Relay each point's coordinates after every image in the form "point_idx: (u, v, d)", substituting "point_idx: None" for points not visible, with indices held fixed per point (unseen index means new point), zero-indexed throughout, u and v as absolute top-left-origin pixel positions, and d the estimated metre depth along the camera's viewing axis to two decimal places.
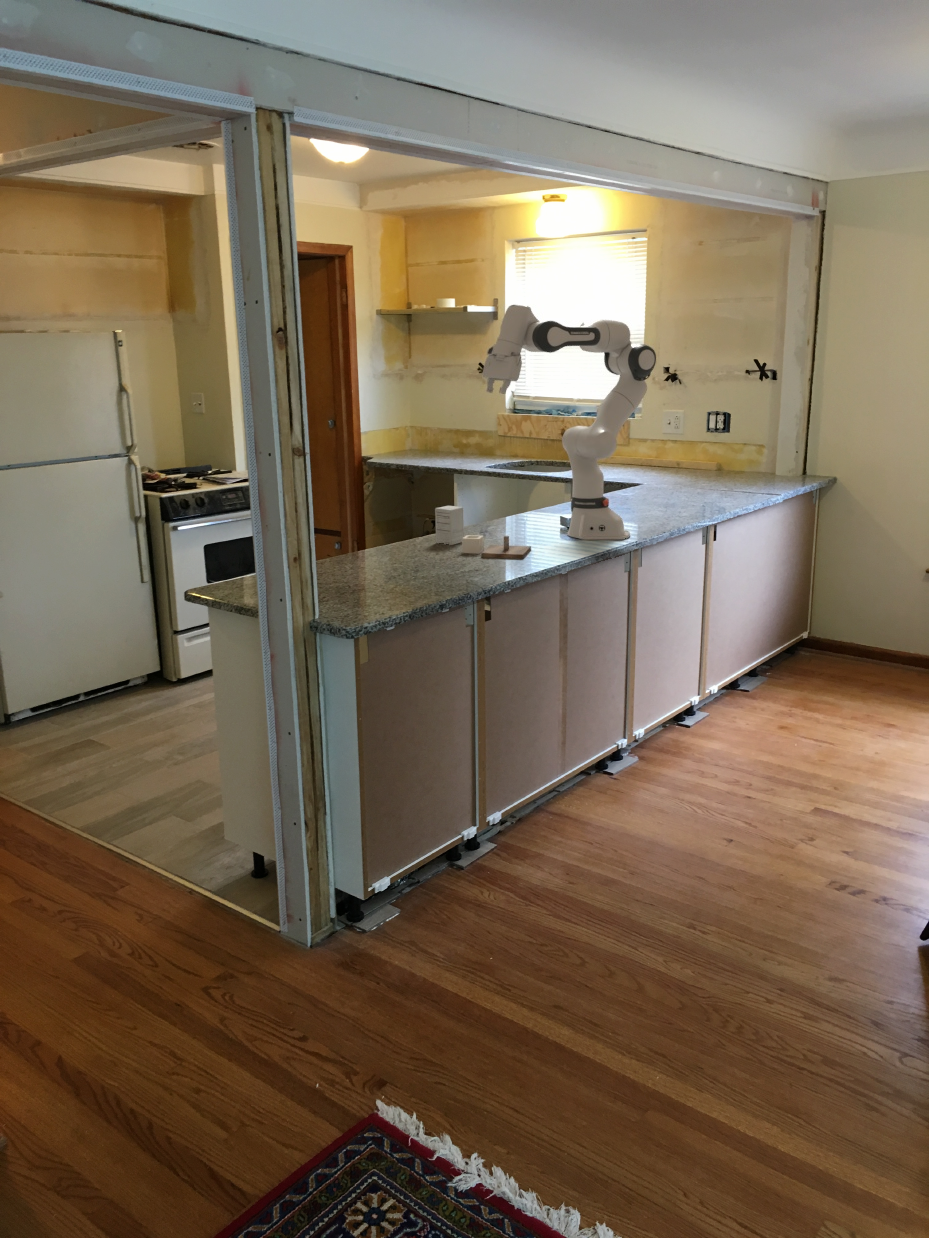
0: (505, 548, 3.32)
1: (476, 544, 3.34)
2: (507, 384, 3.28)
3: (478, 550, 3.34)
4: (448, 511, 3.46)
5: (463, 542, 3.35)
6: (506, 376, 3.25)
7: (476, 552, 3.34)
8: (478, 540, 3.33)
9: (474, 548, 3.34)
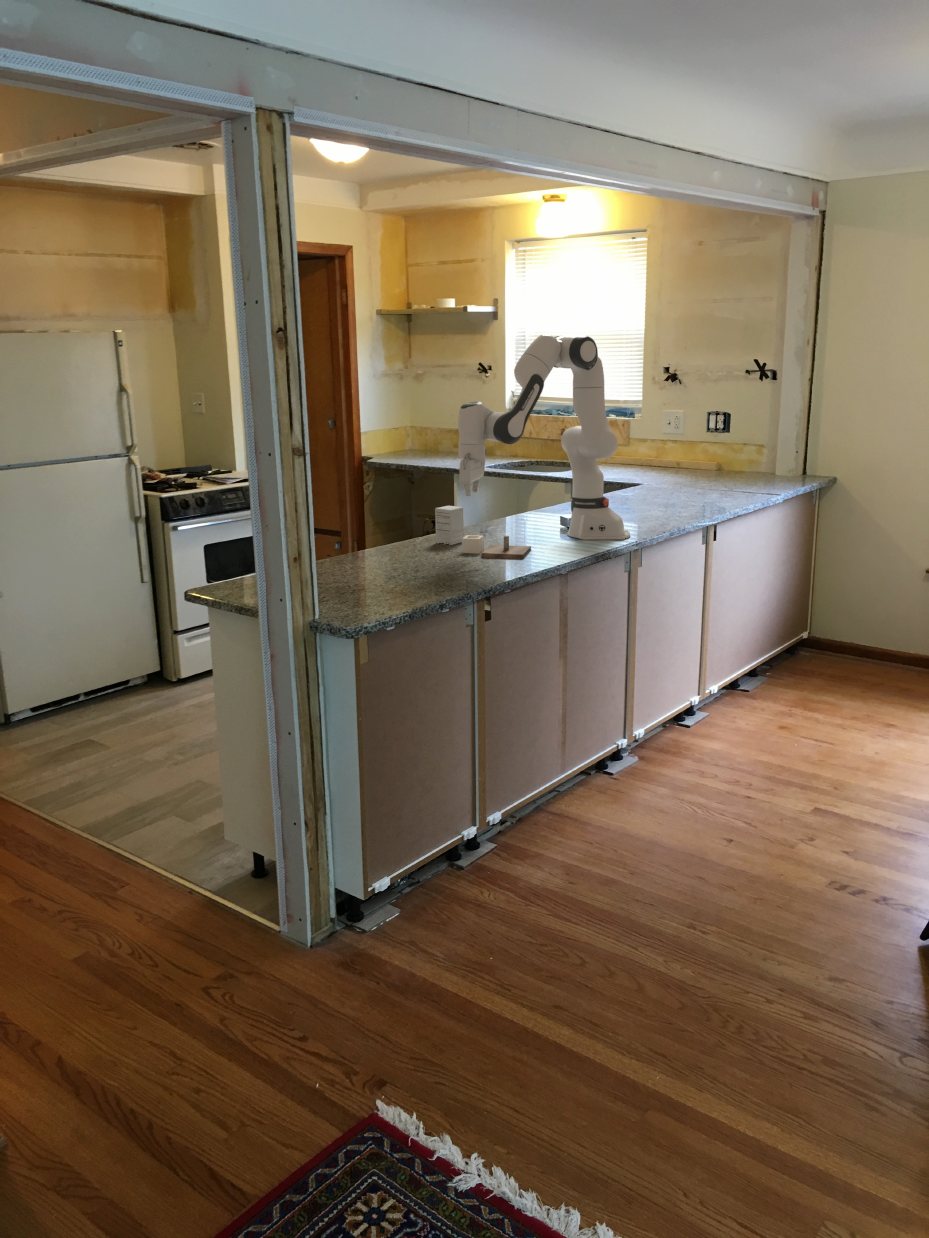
0: (505, 548, 3.32)
1: (476, 544, 3.34)
2: (467, 486, 3.26)
3: (478, 550, 3.34)
4: (448, 511, 3.46)
5: (463, 542, 3.35)
6: None
7: (476, 552, 3.34)
8: (478, 540, 3.33)
9: (474, 548, 3.34)
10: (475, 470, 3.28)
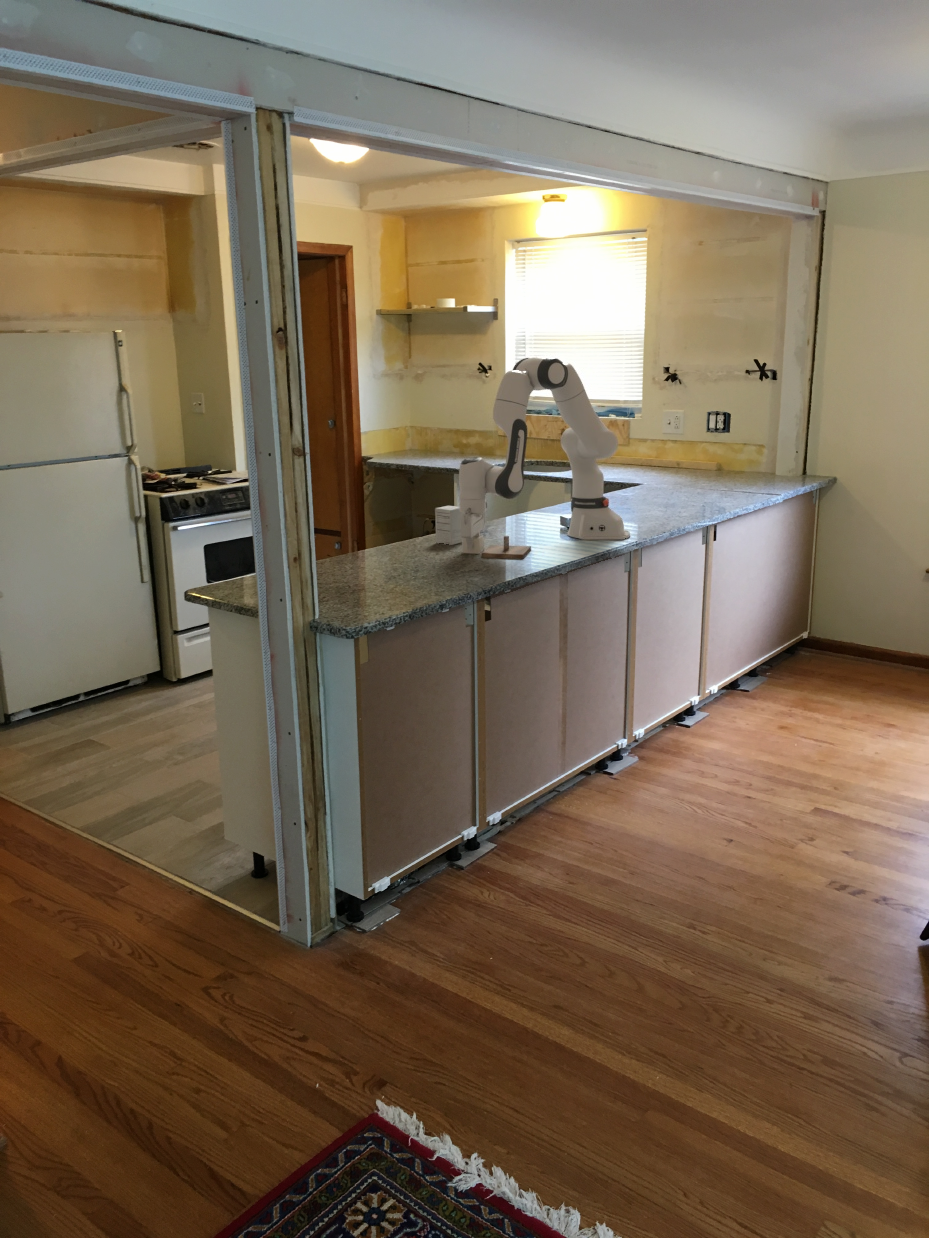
0: (505, 548, 3.32)
1: (476, 544, 3.34)
2: (469, 540, 3.32)
3: (478, 550, 3.34)
4: (448, 511, 3.46)
5: (463, 542, 3.35)
6: None
7: (476, 552, 3.34)
8: (478, 540, 3.33)
9: (474, 548, 3.34)
10: (476, 524, 3.33)
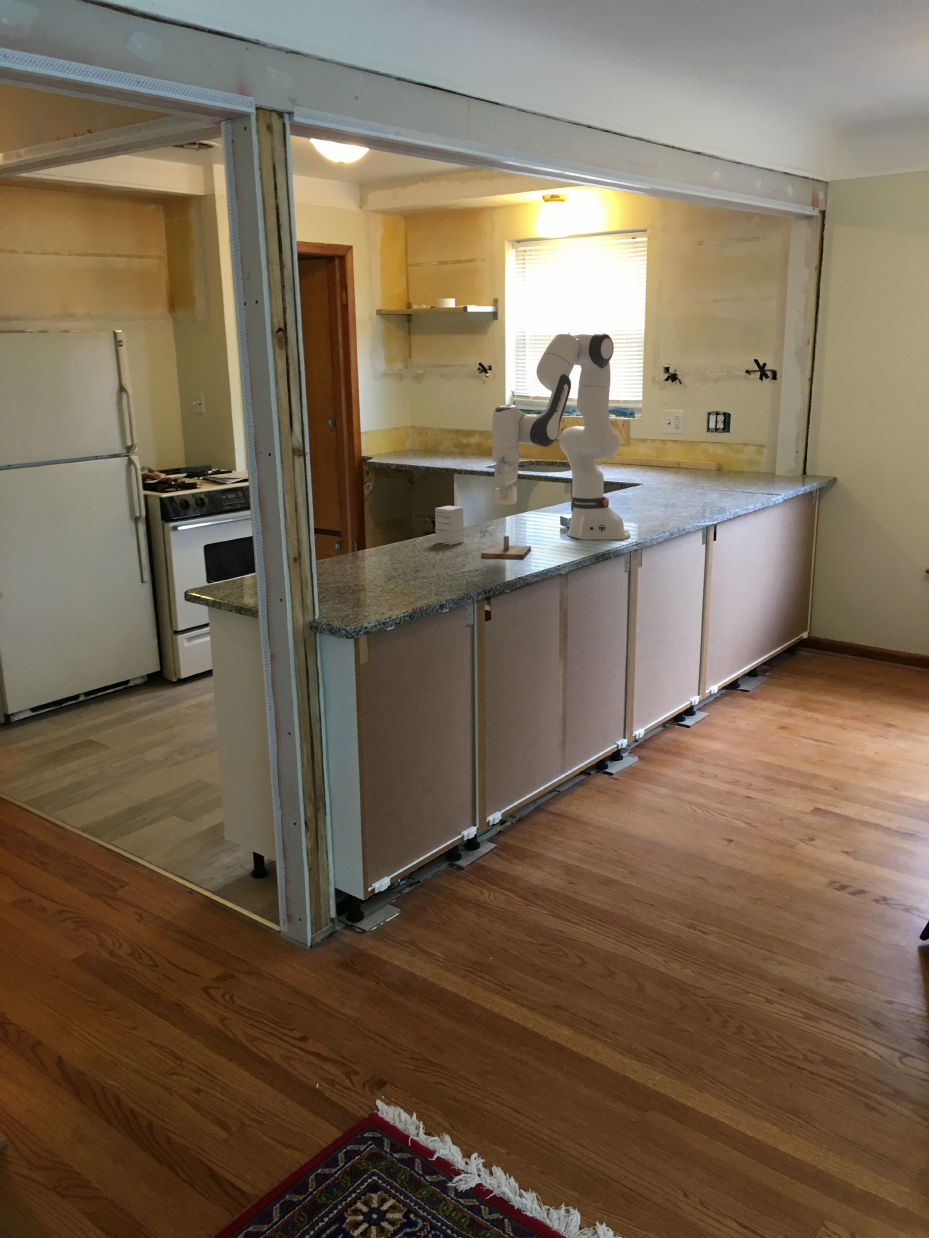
0: (505, 548, 3.32)
1: (509, 495, 3.24)
2: (503, 490, 3.22)
3: (511, 501, 3.25)
4: (448, 511, 3.46)
5: (496, 493, 3.25)
6: None
7: (509, 503, 3.25)
8: (512, 490, 3.24)
9: (507, 499, 3.25)
10: (509, 474, 3.23)
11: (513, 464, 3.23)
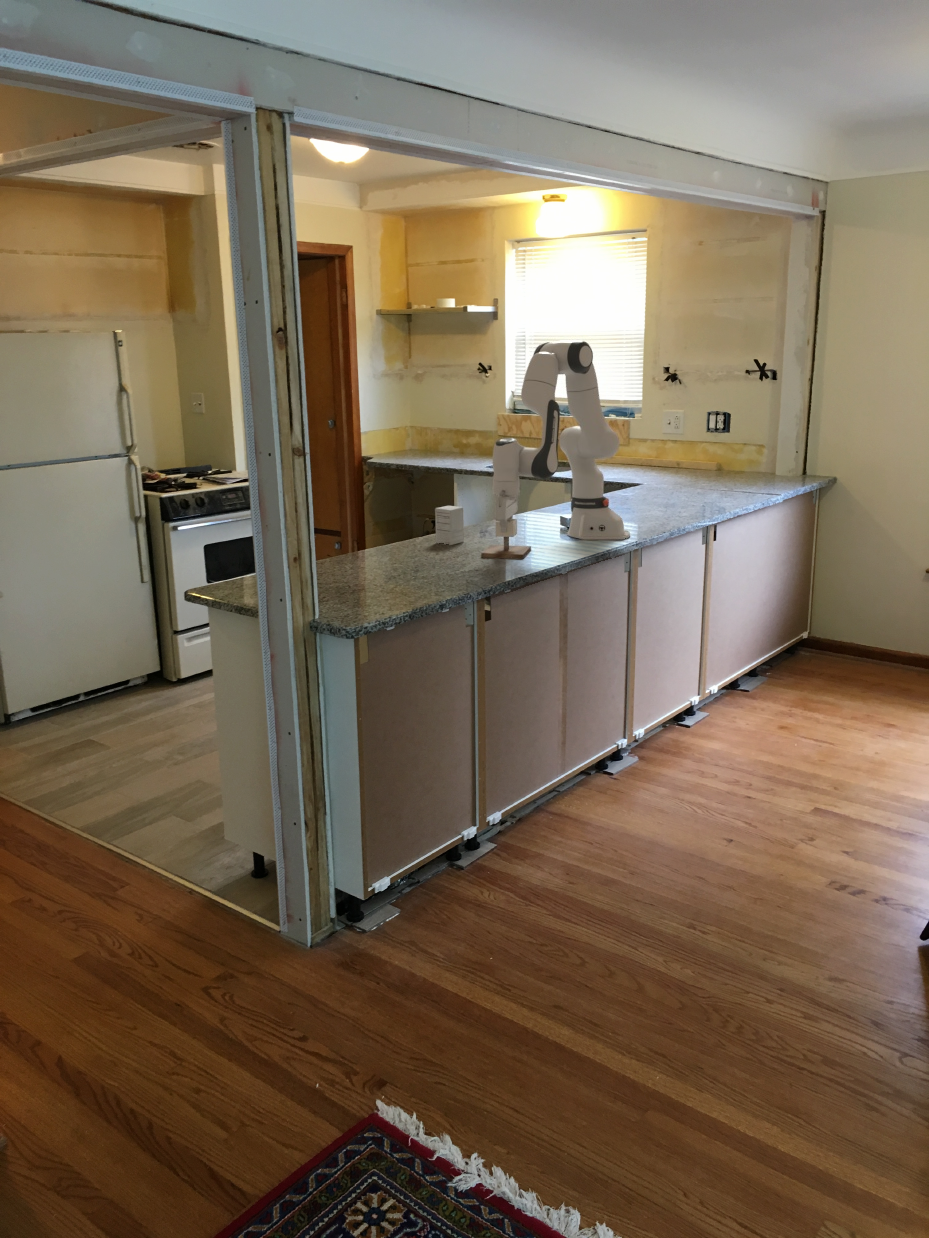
0: (505, 548, 3.32)
1: (510, 527, 3.27)
2: (503, 523, 3.25)
3: (512, 533, 3.28)
4: (448, 511, 3.46)
5: (496, 525, 3.28)
6: None
7: (510, 535, 3.28)
8: (512, 523, 3.27)
9: (508, 531, 3.28)
10: (510, 507, 3.26)
11: (513, 497, 3.26)
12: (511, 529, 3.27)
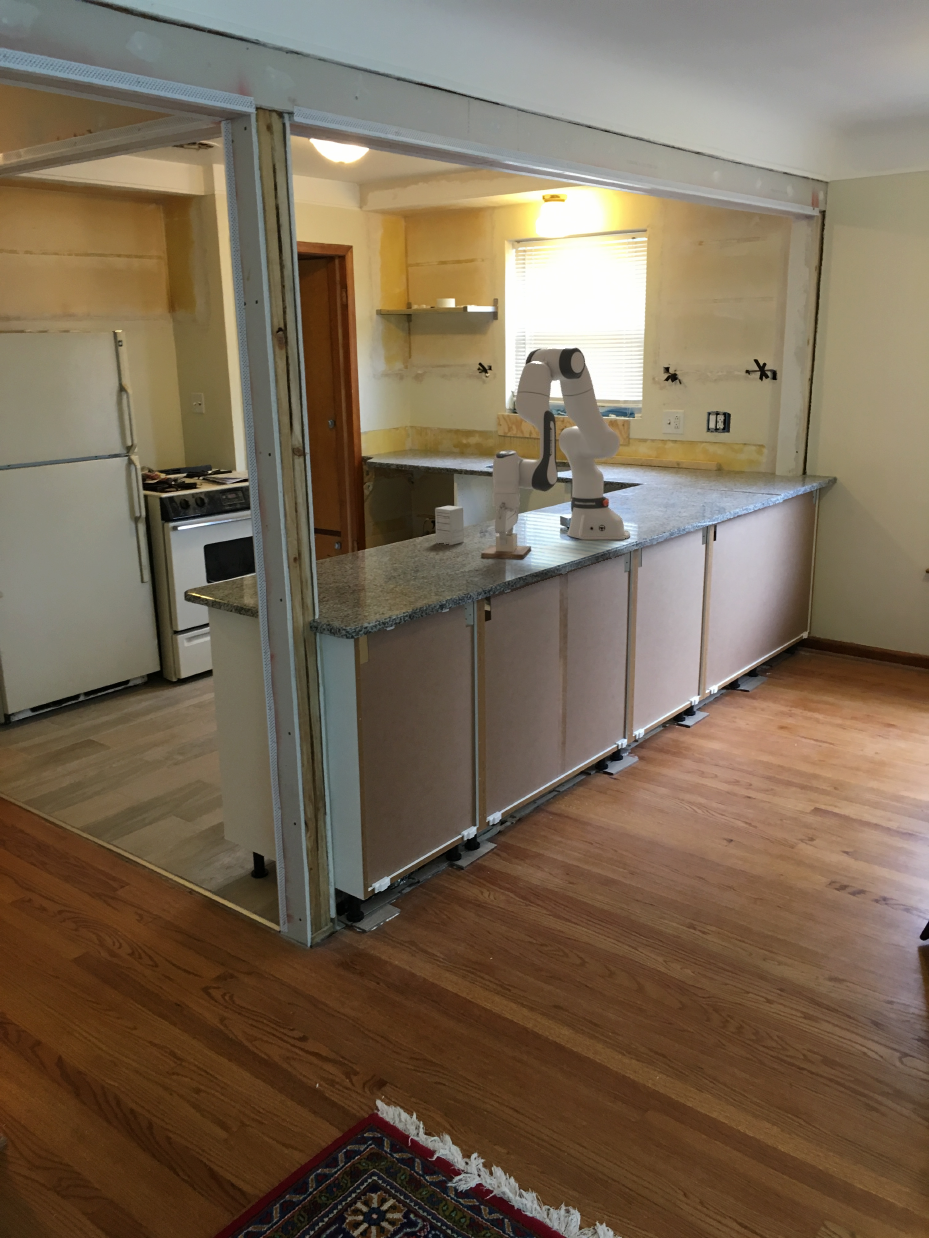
0: None
1: (510, 542, 3.29)
2: (502, 536, 3.25)
3: (512, 548, 3.29)
4: (448, 511, 3.46)
5: (496, 540, 3.30)
6: None
7: (510, 550, 3.29)
8: (512, 538, 3.28)
9: (508, 546, 3.29)
10: (510, 519, 3.27)
11: (513, 509, 3.27)
12: (511, 544, 3.29)
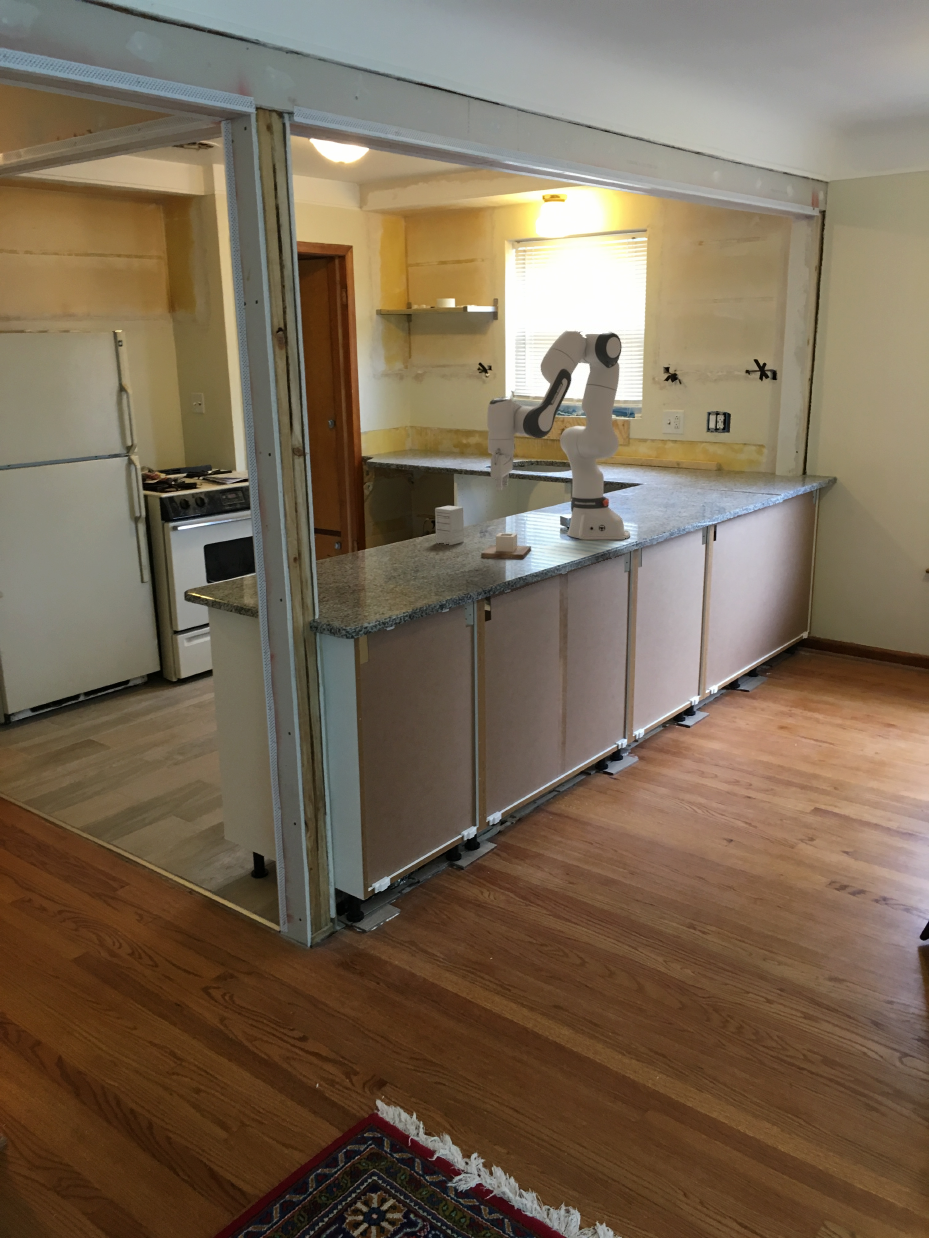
0: None
1: (510, 542, 3.29)
2: (498, 481, 3.28)
3: (512, 548, 3.29)
4: (448, 511, 3.46)
5: (496, 540, 3.30)
6: None
7: (510, 550, 3.29)
8: (512, 538, 3.28)
9: (508, 546, 3.29)
10: (505, 465, 3.30)
11: (508, 455, 3.30)
12: (511, 544, 3.29)
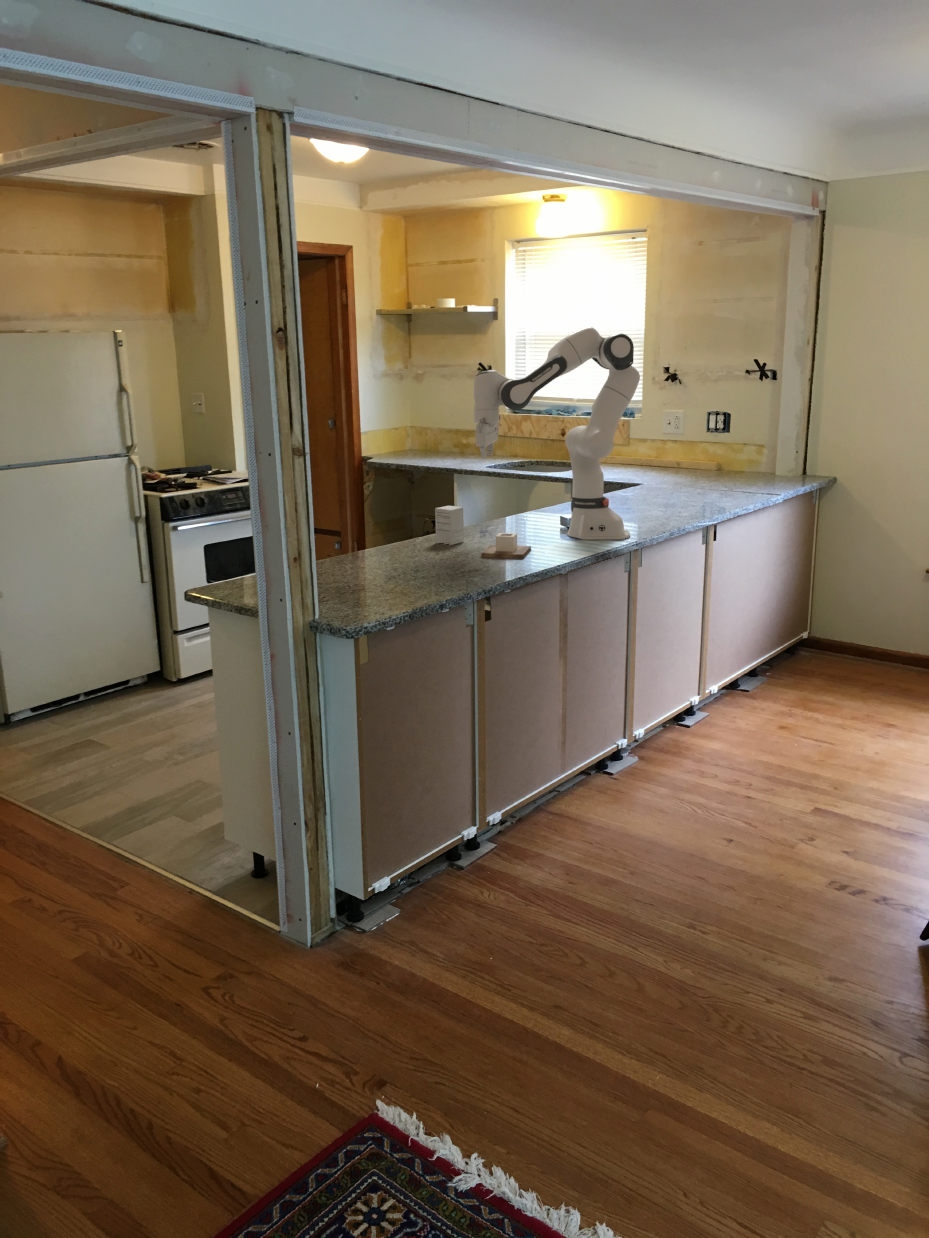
0: None
1: (510, 542, 3.29)
2: (483, 449, 3.48)
3: (512, 548, 3.29)
4: (448, 511, 3.46)
5: (496, 540, 3.30)
6: None
7: (510, 550, 3.29)
8: (512, 538, 3.28)
9: (508, 546, 3.29)
10: (490, 434, 3.50)
11: (493, 425, 3.50)
12: (511, 544, 3.29)
